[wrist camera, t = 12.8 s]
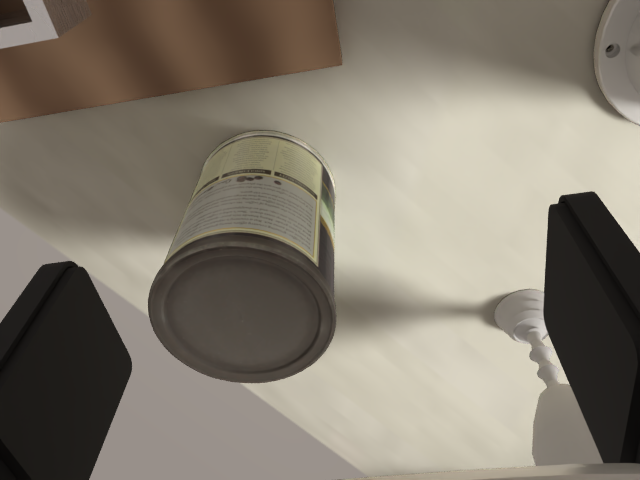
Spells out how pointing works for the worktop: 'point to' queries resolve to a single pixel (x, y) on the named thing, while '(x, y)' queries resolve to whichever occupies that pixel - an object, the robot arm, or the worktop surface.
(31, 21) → the white hollow square box
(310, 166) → the coffee can
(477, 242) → the worktop surface
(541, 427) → the chalice
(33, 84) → the board
